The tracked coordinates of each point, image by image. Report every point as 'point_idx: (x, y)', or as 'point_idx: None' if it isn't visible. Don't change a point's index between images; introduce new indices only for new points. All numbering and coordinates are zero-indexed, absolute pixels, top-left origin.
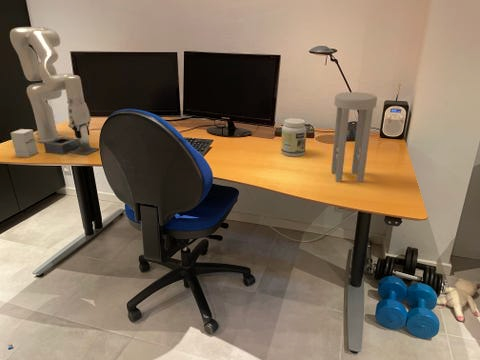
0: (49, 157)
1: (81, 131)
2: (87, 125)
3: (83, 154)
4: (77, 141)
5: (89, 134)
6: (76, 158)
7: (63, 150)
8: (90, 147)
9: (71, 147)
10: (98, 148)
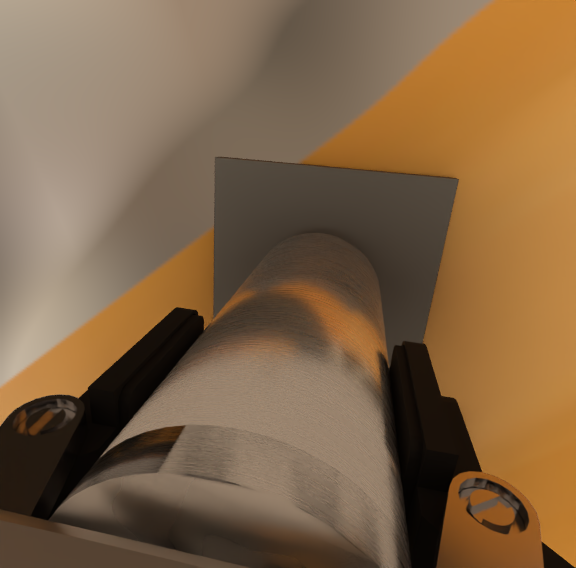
0: (553, 507)
1: (381, 410)
2: (51, 441)
3: (447, 224)
4: None
5: (178, 308)
6: (571, 236)
7: None
8: (221, 283)
9: None
10: (220, 170)
